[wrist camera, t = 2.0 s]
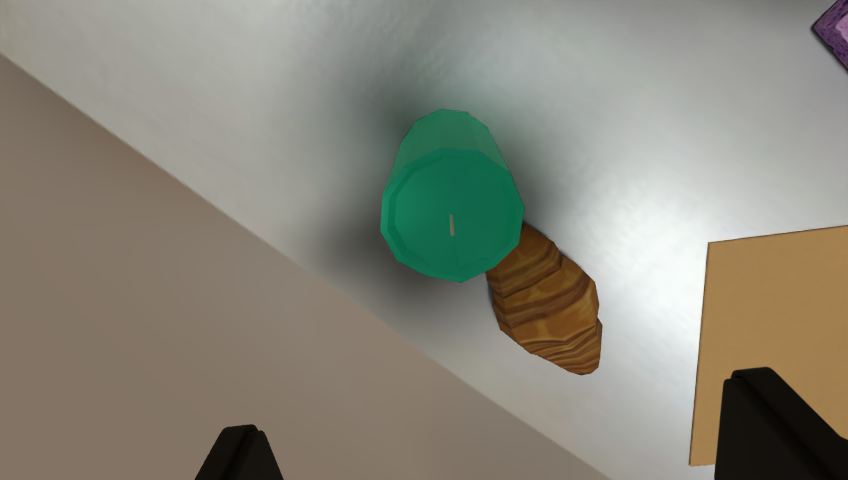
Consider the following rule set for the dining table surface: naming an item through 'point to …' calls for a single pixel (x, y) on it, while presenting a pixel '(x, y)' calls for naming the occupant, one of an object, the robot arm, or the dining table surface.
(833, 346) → the place mat
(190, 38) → the dining table surface
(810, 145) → the dining table surface
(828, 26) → the sponge
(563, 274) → the croissant
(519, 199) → the candle
